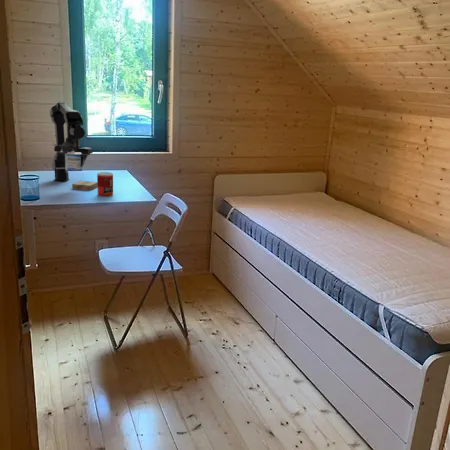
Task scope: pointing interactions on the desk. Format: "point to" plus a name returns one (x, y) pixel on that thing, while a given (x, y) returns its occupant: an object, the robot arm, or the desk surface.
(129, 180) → the desk surface
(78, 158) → the medicine box
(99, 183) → the canned food
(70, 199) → the desk surface
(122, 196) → the desk surface
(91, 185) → the tan block
